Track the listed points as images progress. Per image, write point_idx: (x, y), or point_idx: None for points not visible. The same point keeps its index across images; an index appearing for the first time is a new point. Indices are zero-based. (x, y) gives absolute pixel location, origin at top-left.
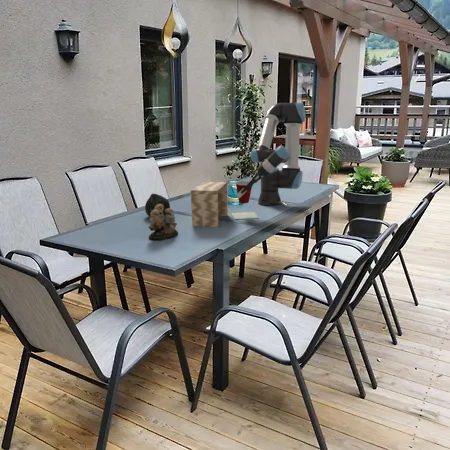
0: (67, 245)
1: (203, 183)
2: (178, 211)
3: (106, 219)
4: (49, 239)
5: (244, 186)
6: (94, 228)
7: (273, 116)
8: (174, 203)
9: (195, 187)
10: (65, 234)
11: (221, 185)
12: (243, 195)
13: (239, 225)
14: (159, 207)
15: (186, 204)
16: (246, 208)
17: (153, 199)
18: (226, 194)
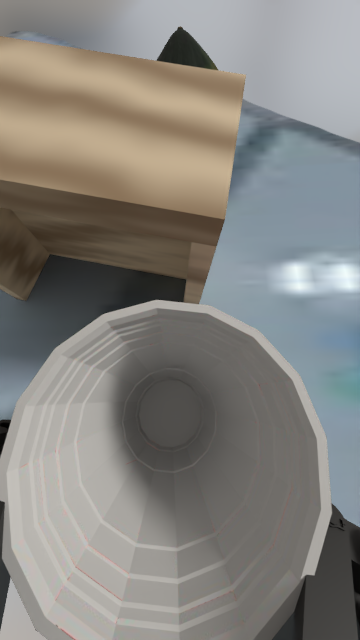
0: None
1: (172, 73)
2: (242, 182)
3: None
4: (27, 32)
5: (35, 447)
6: None
7: None
8: (344, 168)
9: (14, 40)
10: (54, 42)
11: (34, 170)
12: (112, 414)
13: (12, 383)
14: None
15: (339, 196)
16: (323, 420)
17: (158, 57)
18: (186, 282)
